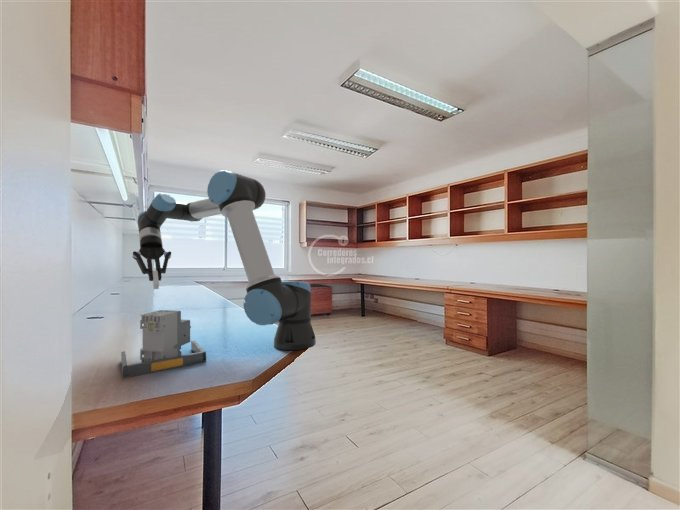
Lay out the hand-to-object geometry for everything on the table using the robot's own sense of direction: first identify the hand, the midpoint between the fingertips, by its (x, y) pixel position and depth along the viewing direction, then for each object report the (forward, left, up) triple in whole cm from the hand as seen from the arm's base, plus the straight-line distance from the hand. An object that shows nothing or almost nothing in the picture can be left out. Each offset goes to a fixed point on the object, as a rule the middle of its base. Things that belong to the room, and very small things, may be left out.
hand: (156, 286), depth 110 cm
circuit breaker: (-14, -2, -22) cm, 26 cm away
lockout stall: (-17, 0, -22) cm, 28 cm away
